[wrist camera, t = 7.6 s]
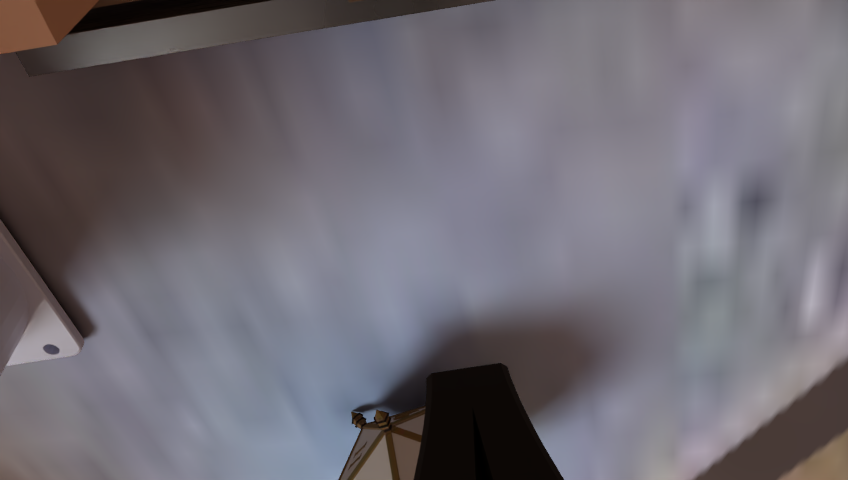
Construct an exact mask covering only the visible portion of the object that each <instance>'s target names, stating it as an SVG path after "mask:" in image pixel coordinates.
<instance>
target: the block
mask: <svg viewBox="0 0 848 480" xmlns="http://www.w3.org/2000/svg"><path fill="white" fill-rule="evenodd" d="M98 1H99V0H0V54H4V53H10V52H16V51H22V50H28V49H34V48H40V47H46V46H52V45H57V44H58V43H59V42H60V41H61V40H62V39H63V38H64V37H65V36H66V35H67V34H68V33H69V32H70V31H71V29H72V28H73V27H74V26H75V25H76V24H77V23H78V22H79V21H80V20H81V19H82V18H83V17H84V16H85V15H86V14H87V13H88V11H89V10H90V9H91V8H92V7H93V6H94V5H95V4H96V3H97V2H98Z"/></svg>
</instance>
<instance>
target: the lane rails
mask: <svg viewBox="0 0 848 480" xmlns="http://www.w3.org/2000/svg"><path fill="white" fill-rule="evenodd" d="M487 1H494V0H362V1H356V2H350V3H349V1H348V0H139V1H133V2H127V3H121V4H115V5H109V6H103V7H97V8H91V9H90V10H89V11H88V13H87V14H86V15H85V16H84V17H83V18H82V19H81V20H80V21H79V22H78V23H77V24H76V25H75V26H74V27H73V28H72V29H71V31H70V32H69V33H68V34H67V35H66V36H65V37H64V38H63V39H62V40H61V41H60V42H59V43H58V44H57V45H52V46H46V47H40V48H34V49H28V50H22V51H16V54H17V56H18V58H19V59H20V61H21V63H22V65H23V66H24V68H25V70H26V72H27V74H28V75H29V77H30V76H36V75H42V74H48V73H54V72H60V71H66V70H73V69H79V68H85V67H91V66H97V65H103V64H109V63H115V62H121V61H127V60H134V59H140V58H146V57H152V56H158V55H164V54H170V53H176V52H182V51H188V50H195V49H201V48H207V47H213V46H219V45H225V44H231V43H237V42H243V41H249V40H256V39H262V38H268V37H274V36H280V35H286V34H292V33H298V32H304V31H311V30H317V29H323V28H329V27H335V26H341V25H347V24H353V23H359V22H365V21H372V20H378V19H384V18H390V17H396V16H402V15H408V14H414V13H420V12H426V11H433V10H439V9H445V8H451V7H457V6H463V5H469V4H475V3H481V2H487Z"/></svg>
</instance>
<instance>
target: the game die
mask: <svg viewBox="0 0 848 480" xmlns="http://www.w3.org/2000/svg"><path fill="white" fill-rule="evenodd" d="M425 407H426V405H425V406H422V407H419V408H416V409H412V410H409V411H406V412H403V413H399V414H396V415H393V416H390V417H389V413H387V412H383V411H379V410H376V415H375V417H374V420H375V421H374V422H370V423H366V418H364V417H363V414H361V413H354V412H351V413H352V424H355V425H356V426H355V427H356V428H357V427H358V428H360V429H361V431H360V433H359V435H358V438H357V440H356V442H355V444H354V446H353V449H352V451H351V453H350V455H349V457H348V460H347V462H346V464H345V466H344V468H343V471H342V473H341V475H340V477H339V479H338V480H413V479H414V475H415V470H416V465H417V460H418V455H419V450H420V444H421V438H422V431H423V425H424V417H425Z"/></svg>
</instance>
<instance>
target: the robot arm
mask: <svg viewBox="0 0 848 480" xmlns="http://www.w3.org/2000/svg"><path fill="white" fill-rule="evenodd" d="M54 345H55V346H54ZM83 345H84V339H83V337H82V336H81V334H80V333H79V332H78V330H77V329H76V327H75V326H74V324H73V323H72V321H71V320H70V319H69V317H68V316H67V314H66V313H65V311H64V310H63V309H62V307H61V306H60V304H59V303H58V301H57V300H56V298H55V297H54V296H53V294H52V293H51V291H50V290H49V288H48V287H47V286H46V284H45V283H44V281H43V280H42V278H41V277H40V275H39V274H38V273H37V271H36V270H35V268H34V267H33V265H32V264H31V263H30V261H29V260H28V258H27V257H26V255H25V254H24V252H23V251H22V250H21V248H20V247H19V245H18V244H17V242H16V241H15V240H14V238H13V237H12V235H11V234H10V232H9V231H8V229H7V228H6V227H5V225H4V224H3V222H2V221H1V219H0V376H1V374H2V372H3V370H4V368H5V367H6V366H9V365H15V364H22V363H29V362H35V361H42V360H48V359H55V358H62V357H68V356H74V355H77V354H78V353H80V352H81V350H82V347H83ZM413 480H564V479H563V477H562V476H561V474H560V472H559V471H558V469H557V467H556V466H555V464H554V462H553V461H552V459H551V457H550V456H549V454H548V452H547V450H546V449H545V447H544V445H543V444H542V442H541V440H540V438H539V436H538V435H537V433H536V431H535V429H534V427H533V425H532V423H531V421H530V419H529V417H528V415H527V413H526V411H525V409H524V407H523V405H522V403H521V401H520V399H519V396H518V394H517V392H516V389H515V387H514V384H513V382H512V379H511V377H510V374H509V371H508V368H507V366H505V365H503V364H501V363H497V364H491V365H484V366H477V367H470V368H464V369H457V370H450V371H443V372H437V373H432V374H431V375H429V376H428V377H427V378H426V407H425V417H424V425H423V431H422V438H421V444H420V450H419V455H418V460H417V465H416V470H415V475H414V479H413Z"/></svg>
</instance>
